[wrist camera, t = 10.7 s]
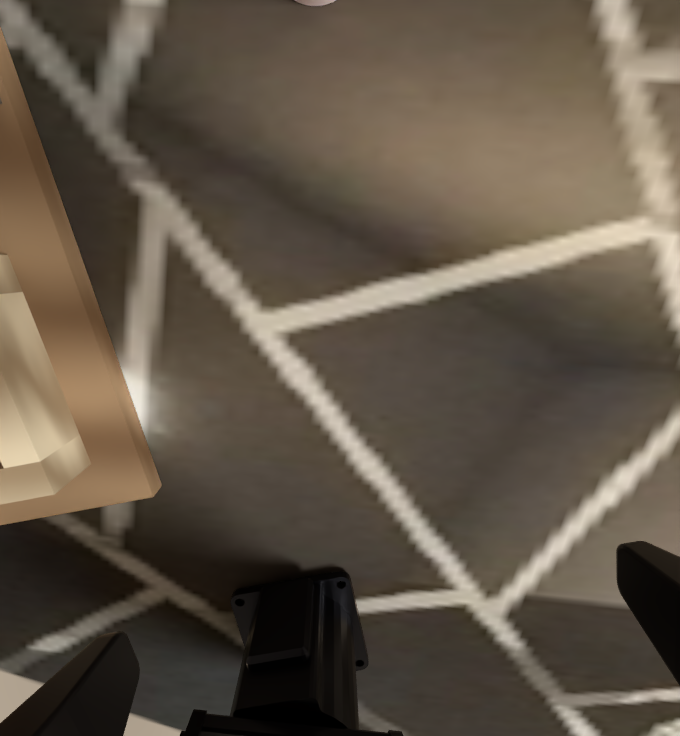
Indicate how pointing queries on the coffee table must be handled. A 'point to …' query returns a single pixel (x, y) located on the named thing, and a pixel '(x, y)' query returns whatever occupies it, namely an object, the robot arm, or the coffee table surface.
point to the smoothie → (314, 2)
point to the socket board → (54, 348)
